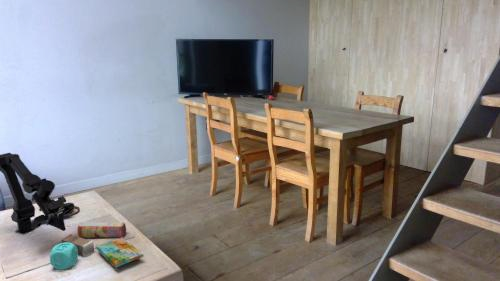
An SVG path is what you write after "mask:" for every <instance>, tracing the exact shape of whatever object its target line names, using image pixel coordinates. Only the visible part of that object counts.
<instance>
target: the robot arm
mask: <svg viewBox="0 0 500 281" xmlns="http://www.w3.org/2000/svg"><path fill="white" fill-rule="evenodd" d="M0 172H1V174H3V176H4V179H5V180H6V181H5V182H6V184H7V187H8V189H9V192H10V194H11V197H12V199H13V206H12V210H13V212H12V214H11V216H10V218H11V221H12V222H14V223H16V225H17V229H16V230H14V232H15V233H18V234H21V235H24V234H25V235H26V234H27V233H29V232H32V231H34V230H36V229H37V228H40V227H41V225H42V223H44V222H46V225H47V226H48V225H49V226H51V227H54V228H56V229H58V230H60V231H63V232H65V231H66V224H65V221H64V218H65V217H63V216H64V215H68V214H72V212H73V211H74V210H75V209H74V207H75V206H76V205H75V203H74V202H68V203H69V204H66V205H64V203H67V199H66V197H65V196H64V195H61V196H58V198H57V199H56V200H55V199H53V198H51V197H50V196H51V195H52V193H53V192H54V190H55V188H56V184H55V183H54V182H53V181H51V180H48V179H47V178H40V177H39V175H37V174H34V173H32V171H31V170H30V169H29V168H28V167H27V165H26V164H25V163H24V162H23V160H22V159H21V157H20V155H19V154H18V153H11V152H6V153H2V154H0ZM18 177H19V178H18ZM19 179H20V180H21V182H22V185H21V183H20V180H19ZM23 190H24V191H23ZM24 193H27V194H31V199H28V198H27V197H26V196H25V194H24ZM33 202H35V204H36V205H37V206H38V208H39V209H38V211H39V212H42V213H43V214H40V215H38V216H35V215H36V208H35V205H34V204H33ZM73 203H74V204H73ZM63 205H64V206H63ZM60 206H63V208H62V209H61V210H59V209H60V208H61V207H60ZM73 209H74V210H73ZM72 210H73V211H72ZM71 211H72V212H71ZM31 218H34V219H33V220H32V219H31Z"/></svg>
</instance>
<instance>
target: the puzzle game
mask: <svg viewBox="0 0 500 281" xmlns="http://www.w3.org/2000/svg"><path fill="white" fill-rule="evenodd" d="M95 247H96V248H95V249H96V250H97V251H98V253H100V254H101V255H102V256H103V257H104V258H105V259H106V260H107V261H108V262H109V263H110V265H112V266H113V267H115V268H118V267H121V266H122V265H125V264H128V263H131V262H132V261H136V260H139V259H141V258H143V257H144V253H142V252H141V251H140V250H139V249H137V248H136V247H135V246H134V245H132V244H131V243H130V242H129V241H128V240H126V239H125V237H124V236H123V237H122V238H119V237H118V238H116V239H113V240H111V241H108V242H104V243H102V244H98V245H96V246H95Z"/></svg>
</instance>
